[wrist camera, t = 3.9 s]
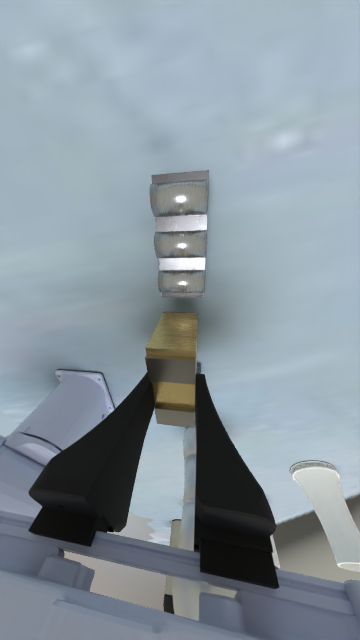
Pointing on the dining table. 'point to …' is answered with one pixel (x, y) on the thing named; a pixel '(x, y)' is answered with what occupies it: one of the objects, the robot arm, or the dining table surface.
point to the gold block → (174, 368)
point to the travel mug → (169, 579)
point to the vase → (330, 510)
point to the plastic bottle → (190, 540)
